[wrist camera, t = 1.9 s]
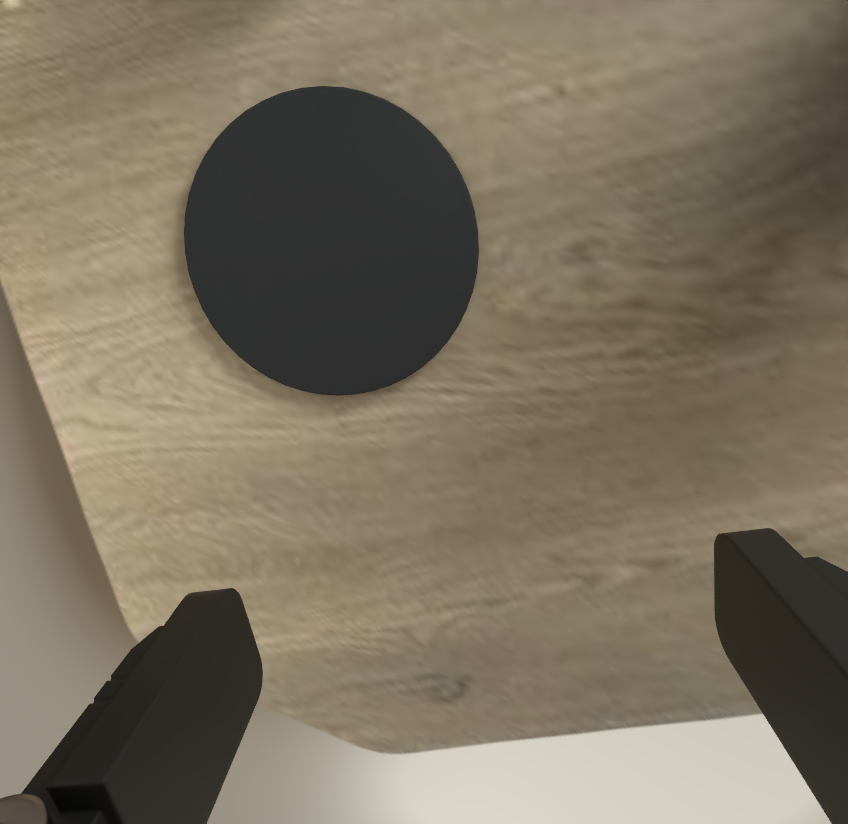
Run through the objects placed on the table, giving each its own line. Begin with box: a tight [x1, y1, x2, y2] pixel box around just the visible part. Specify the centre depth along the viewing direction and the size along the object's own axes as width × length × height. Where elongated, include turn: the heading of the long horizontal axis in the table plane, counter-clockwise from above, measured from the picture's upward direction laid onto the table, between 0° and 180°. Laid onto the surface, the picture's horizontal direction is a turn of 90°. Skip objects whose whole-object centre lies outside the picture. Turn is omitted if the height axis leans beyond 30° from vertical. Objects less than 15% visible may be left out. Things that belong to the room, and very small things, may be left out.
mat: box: [184, 86, 479, 395], centre depth 30 cm, size 16×16×1 cm
